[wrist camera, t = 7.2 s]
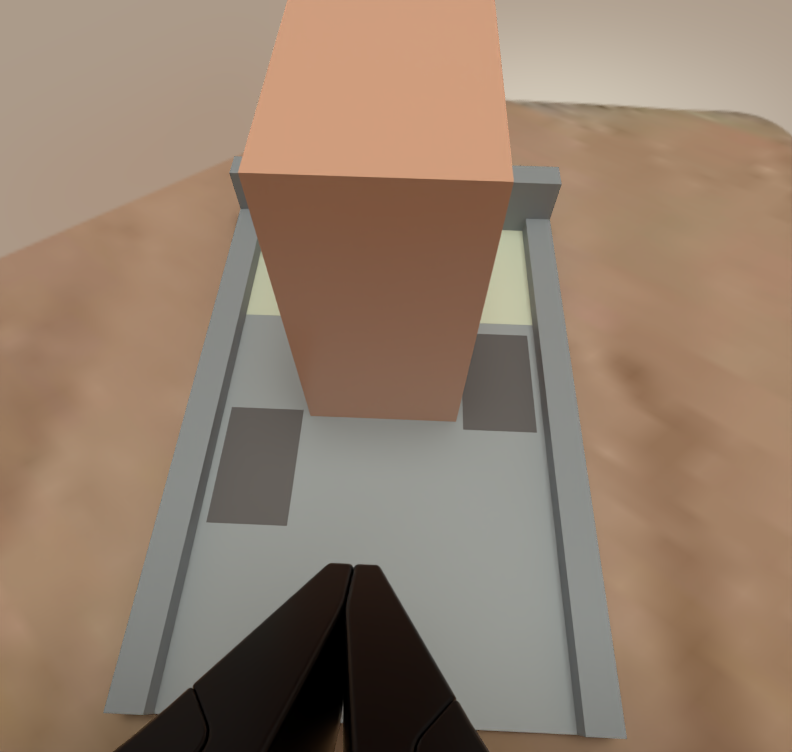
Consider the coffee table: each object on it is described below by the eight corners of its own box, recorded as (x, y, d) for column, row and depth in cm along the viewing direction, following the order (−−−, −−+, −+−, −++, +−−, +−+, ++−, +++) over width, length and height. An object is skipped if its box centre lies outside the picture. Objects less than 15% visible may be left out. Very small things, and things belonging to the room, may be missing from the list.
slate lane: (609, 735, 14) (658, 745, 11) (124, 711, 14) (65, 716, 12) (540, 223, 24) (558, 167, 21) (251, 213, 24) (234, 156, 21)
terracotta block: (456, 421, 18) (513, 181, 10) (310, 415, 18) (237, 172, 10) (452, 249, 22) (491, -29, 14) (333, 244, 22) (297, -34, 14)
